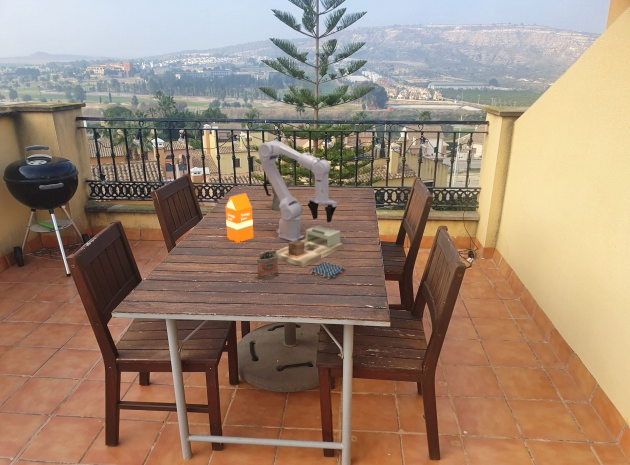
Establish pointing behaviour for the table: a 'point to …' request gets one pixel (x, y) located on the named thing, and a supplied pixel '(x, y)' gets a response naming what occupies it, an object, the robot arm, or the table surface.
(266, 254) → the lighter
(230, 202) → the orange juice
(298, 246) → the walnut block
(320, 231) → the slide cover
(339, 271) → the woven mat
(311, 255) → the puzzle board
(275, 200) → the coffeepot
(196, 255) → the table surface
